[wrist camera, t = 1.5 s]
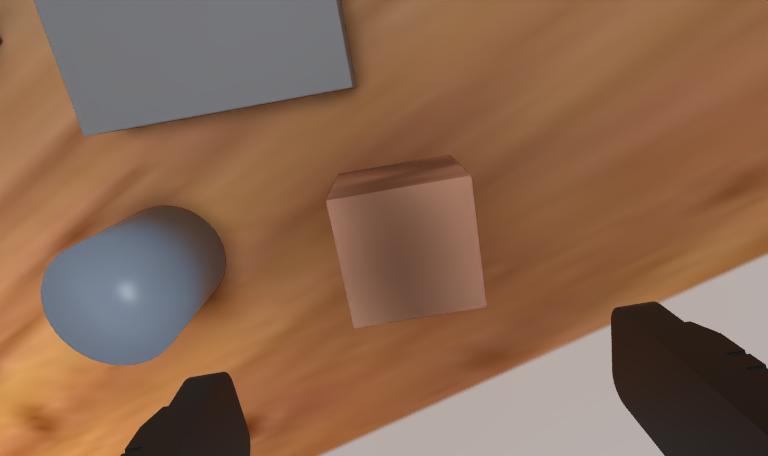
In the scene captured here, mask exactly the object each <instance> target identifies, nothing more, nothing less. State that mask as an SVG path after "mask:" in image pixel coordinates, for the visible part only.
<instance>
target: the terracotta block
mask: <svg viewBox="0 0 768 456" xmlns="http://www.w3.org/2000/svg"><path fill="white" fill-rule="evenodd" d="M326 204H327V208H328V213H329V217H330V222H331V226H332V231H333V236H334V240H335V245H336V249H337V254H338V258H339V263H340V267H341V272H342V277H343V281H344V286H345V290H346V295H347V299H348V304H349V308H350V313H351V317H352V322H353V327H354V328H359V327H366V326H372V325H378V324H384V323H391V322H397V321H403V320H409V319H416V318H422V317H428V316H434V315H441V314H447V313H453V312H459V311H466V310H472V309H478V308H484V307H487V306H486V298H485V289H484V281H483V272H482V264H481V255H480V246H479V238H478V229H477V221H476V212H475V203H474V195H473V186H472V178H471V175H470V174H469V173H468V172H467V171H466V170H465V169H464V168H463V167H462V166H461V165H460V164H459V163H457V162H456V161H455V160H454V159H453V158H452V157H451V156H450V155H445V156H440V157H434V158H428V159H422V160H417V161H411V162H405V163H400V164H394V165H388V166H383V167H377V168H371V169H365V170H360V171H354V172H348V173H343V174H338V176H337V178H336V180H335V182H334V185H333V187H332V189H331V191H330V193H329V195H328V197H327V199H326Z"/></svg>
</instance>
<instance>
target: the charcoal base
mask: <svg viewBox="0 0 768 456" xmlns="http://www.w3.org/2000/svg"><path fill="white" fill-rule="evenodd" d="M34 3H35V5H36V8H37V11H38V13H39V16H40V19H41V21H42V24H43V27H44V30H45V32H46V35H47V38H48V40H49V43H50V46H51V48H52V51H53V54H54V56H55V59H56V62H57V65H58V67H59V70H60V73H61V75H62V78H63V81H64V83H65V86H66V89H67V91H68V94H69V97H70V100H71V102H72V105H73V108H74V110H75V113H76V116H77V118H78V121H79V124H80V126H81V129H82V132H83V134H84V136H89V135H95V134H101V133H107V132H114V131H120V130H126V129H132V128H137V127H143V126H148V125H154V124H159V123H164V122H170V121H175V120H181V119H186V118H192V117H197V116H203V115H208V114H214V113H219V112H224V111H230V110H235V109H241V108H246V107H252V106H257V105H263V104H268V103H274V102H279V101H284V100H290V99H295V98H301V97H306V96H312V95H317V94H323V93H328V92H334V91H339V90H344V89H350V88H355V87H356V82H355V77H354V71H353V66H352V60H351V55H350V49H349V44H348V39H347V33H346V28H345V22H344V17H343V11H342V6H341V0H34Z"/></svg>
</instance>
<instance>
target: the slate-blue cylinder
mask: <svg viewBox="0 0 768 456" xmlns="http://www.w3.org/2000/svg"><path fill="white" fill-rule="evenodd" d="M225 268H226V257H225V251H224V247H223V245H222V242H221V240H220V238H219V236H218V235H217V233H216V232H215V230H214V229H213V228H212V227H211V226H210V225H209V224H208V223H207V222H206V221H205V220H204V219H202V218H201V217H200V216H198V215H196V214H195V213H193V212H191V211H188V210H186V209H183V208H179V207H175V206H155V207H151V208H147V209H145V210H142V211H140V212H138V213H136V214H134V215H133V216H131V217H129V218H127V219H125V220H123V221H121V222H119V223H117V224H115V225H113V226H111V227H109V228H107V229H105V230H103V231H101V232H99V233H97V234H96V235H94V236H92V237H90V238H88V239H86V240H84V241H82V242H80V243H78V244H76V245H74V246H72V247H70V248H68V249H67V250H65V251H63V252H62V253H61V254H59V255H58V256H57V257H56V258H55V259H54V260H53V261H52V262H51V263H50V265H49V266H48V268H47V270H46V272H45V274H44V277H43V281H42V285H41V300H42V305H43V309H44V312H45V315H46V317H47V319H48V321H49V323H50V325H51V326H52V328H53V329H54V331H55V332H56V333H57V334H58V336H59V337H60V338H61V339H62V340H63V341H64V342H65V343H66V344H68V345H69V346H70V347H71V348H73V349H74V350H76V351H77V352H79V353H81V354H82V355H84V356H86V357H88V358H91V359H93V360H96V361H99V362H102V363H107V364H113V365H134V364H139V363H143V362H146V361H149V360H151V359H153V358H155V357H157V356H159V355H160V354H161V353H163V352H164V351H165V350H166V349H167V348H168V347H169V346H170V345H171V344H172V342H173V341H174V340H175V339H176V338H177V336H178V335H179V334H180V333H181V331H182V330H183V329H184V328H185V326H186V325H187V324H188V323H189V322H190V320H191V319H192V318H193V317H194V315H195V314H196V313H197V312H198V311H199V309H200V308H201V307H202V306H203V304H204V303H205V302H206V301H207V299H208V298H209V297H210V296H211V295H212V293H213V292H214V291H215V290H216V288H217V287H218V286H219V284H220V282H221V281H222V279H223V276H224V273H225Z"/></svg>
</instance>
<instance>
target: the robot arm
mask: <svg viewBox="0 0 768 456" xmlns="http://www.w3.org/2000/svg"><path fill="white" fill-rule="evenodd" d="M611 336H612V372H613V379H614V384H615V387H616V390H617V392H618V395H619V397H620V399H621V401H622V402H623V404H624V405H625V407H626V408H627V409H628V410H629V411H630V412H631V414H632V415H633V416H634V418H635V419H636V420H637V422H638V423H639V424H640V425H641V427H642V428H643V429H644V430H645V431H646V433H647V434H648V435H649V436H650V438H651V439H652V440H653V441H654V443H655V444H656V445H657V446H658V448H659V449H660V450H661V451H662V453H663V454H664V455H665V456H768V369H767V368H766V365H765V364H764V363H762V362H761V361H760V360H758V359H757V358H755V357H754V356H752V355H751V354H746V353H745V350H744V349H742V348H741V347H739V346H738V345H737V344H735V343H734V342H732V341H731V340H729V339H728V338H727V337H725V336H724V335H722V334H721V333H718V332H716V331H713V330H711V329H708V328H705V327H703V326H700V325H698V324H696V323H693V322H683V321H682V320H681V319H679V318H678V317H677V316H675V315H674V314H673V313H671V312H670V311H668V310H667V309H666V308H665V307H663V306H662V305H661V304H659V303H657V302H647V303H641V304H635V305H629V306H623V307H617V308H615V309H614V310H613V312H612V315H611ZM121 456H250V436H249V431H248V428H247V425H246V421H245V418H244V415H243V412H242V409H241V406H240V403H239V400H238V397H237V394H236V391H235V388H234V384H233V382H232V379H231V377H230V375H229V374H228V373H226V372H220V373H214V374H208V375H202V376H196V377H190V378H188V379H186V380H185V382H184V383H183V385H182V386H181V388H180V389H179V391H178V392H177V394H176V395H175V397H174V398H173V400H172V402H171V403H170V405H169V406H166V407H163V408H161V409H160V410H159V411H158V412H157V413H156V414H155V415H154V416H152V417H151V418H150V419H149V420H148V421H147V422H146V423H144V424H143V425H142V426H141V427H140V428H139V430H138V431H137V433H136V434H135V436H134V437H133V438H132V440H131V441H130V443H129V444H128V446H127V447H126V449H125V454H121Z"/></svg>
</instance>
